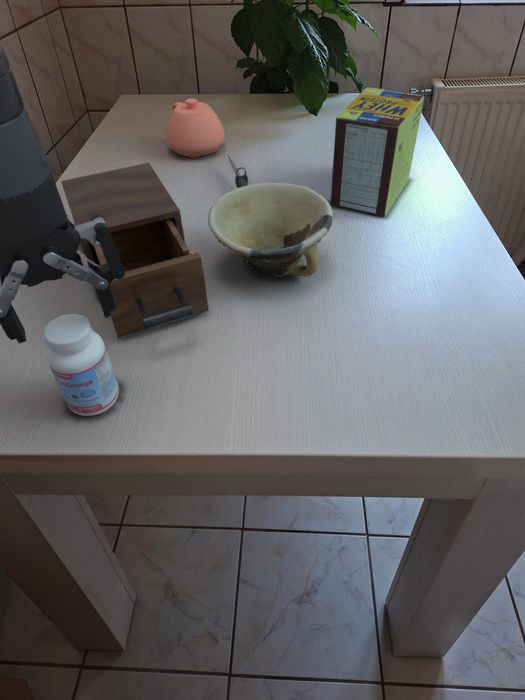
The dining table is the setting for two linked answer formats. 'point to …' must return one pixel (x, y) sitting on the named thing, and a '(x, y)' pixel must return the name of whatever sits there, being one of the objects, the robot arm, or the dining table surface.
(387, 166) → the protein box
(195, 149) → the sugar bowl
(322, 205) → the bowl
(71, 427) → the dining table surface
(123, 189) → the cabinet
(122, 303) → the drawer
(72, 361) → the pill bottle
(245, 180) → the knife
